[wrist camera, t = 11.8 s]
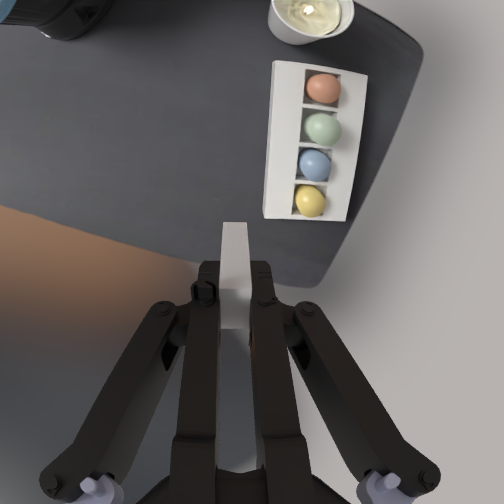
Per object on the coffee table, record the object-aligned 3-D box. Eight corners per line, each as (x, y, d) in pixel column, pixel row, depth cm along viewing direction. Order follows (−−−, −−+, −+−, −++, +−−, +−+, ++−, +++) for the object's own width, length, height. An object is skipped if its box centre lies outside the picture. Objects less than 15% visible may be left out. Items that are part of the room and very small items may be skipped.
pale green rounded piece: (304, 110, 37) (312, 113, 33) (333, 114, 37) (343, 117, 33) (302, 138, 39) (309, 144, 36) (329, 141, 40) (339, 148, 36)
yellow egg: (294, 181, 45) (300, 190, 41) (319, 182, 45) (327, 192, 42) (291, 205, 48) (296, 217, 44) (316, 206, 48) (323, 218, 44)
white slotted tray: (272, 62, 35) (275, 60, 32) (358, 75, 36) (367, 75, 33) (262, 209, 49) (264, 218, 46) (338, 212, 50) (345, 221, 47)
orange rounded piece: (304, 73, 35) (312, 71, 32) (332, 77, 36) (342, 76, 32) (302, 99, 38) (309, 101, 34) (329, 103, 38) (339, 105, 34)
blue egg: (298, 146, 42) (304, 152, 38) (324, 148, 42) (333, 155, 38) (295, 172, 44) (301, 180, 41) (321, 173, 45) (329, 183, 41)
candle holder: (337, 32, 32) (369, 18, 22) (289, 60, 35) (308, 51, 25) (299, -13, 28) (319, -40, 18) (248, 15, 31) (253, -9, 20)
